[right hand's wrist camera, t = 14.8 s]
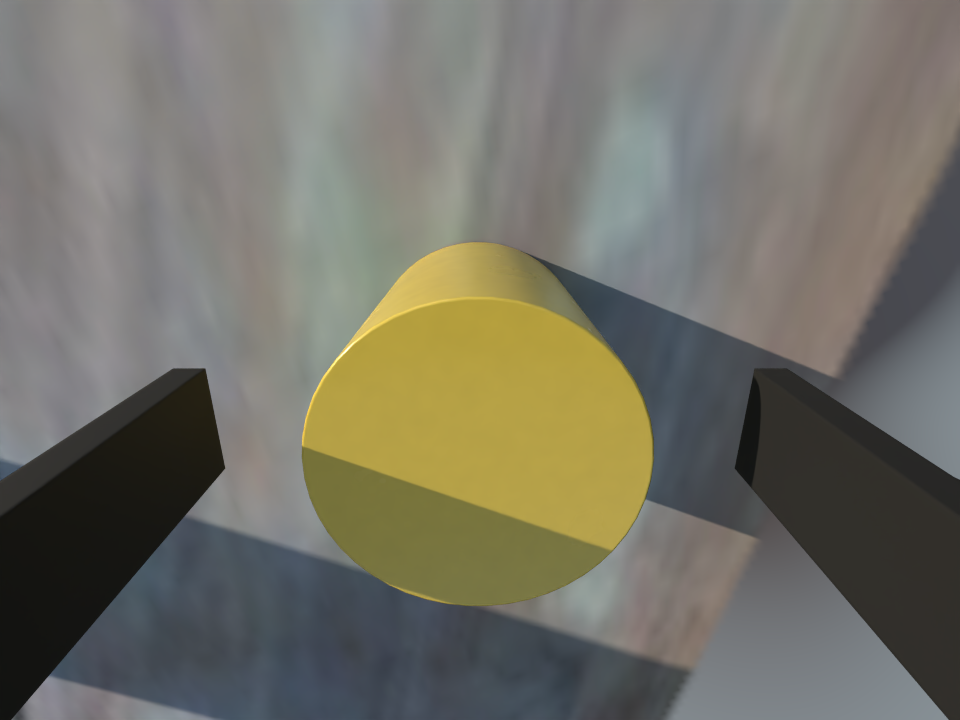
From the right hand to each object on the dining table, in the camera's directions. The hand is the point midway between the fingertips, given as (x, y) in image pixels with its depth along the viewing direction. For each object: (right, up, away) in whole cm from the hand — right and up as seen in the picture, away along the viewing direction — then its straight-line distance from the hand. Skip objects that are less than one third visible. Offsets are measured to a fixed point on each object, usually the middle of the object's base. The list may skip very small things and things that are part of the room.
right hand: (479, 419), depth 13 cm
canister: (0, +2, +7) cm, 7 cm away
